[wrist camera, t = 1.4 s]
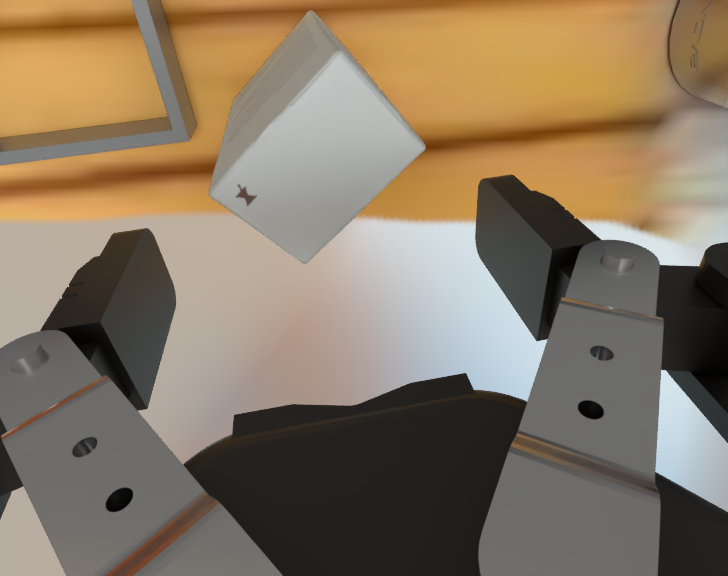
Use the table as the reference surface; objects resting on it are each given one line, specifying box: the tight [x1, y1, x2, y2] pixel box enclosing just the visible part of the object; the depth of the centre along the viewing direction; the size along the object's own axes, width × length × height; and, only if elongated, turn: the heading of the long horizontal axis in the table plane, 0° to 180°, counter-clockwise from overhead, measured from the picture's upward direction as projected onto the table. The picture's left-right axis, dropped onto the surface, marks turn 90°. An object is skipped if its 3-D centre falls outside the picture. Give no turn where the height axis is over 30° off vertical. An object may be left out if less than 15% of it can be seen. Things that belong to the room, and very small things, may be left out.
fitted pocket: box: [0, 0, 197, 165], centre depth 21 cm, size 10×9×2 cm
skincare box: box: [209, 10, 426, 264], centre depth 20 cm, size 6×4×12 cm
